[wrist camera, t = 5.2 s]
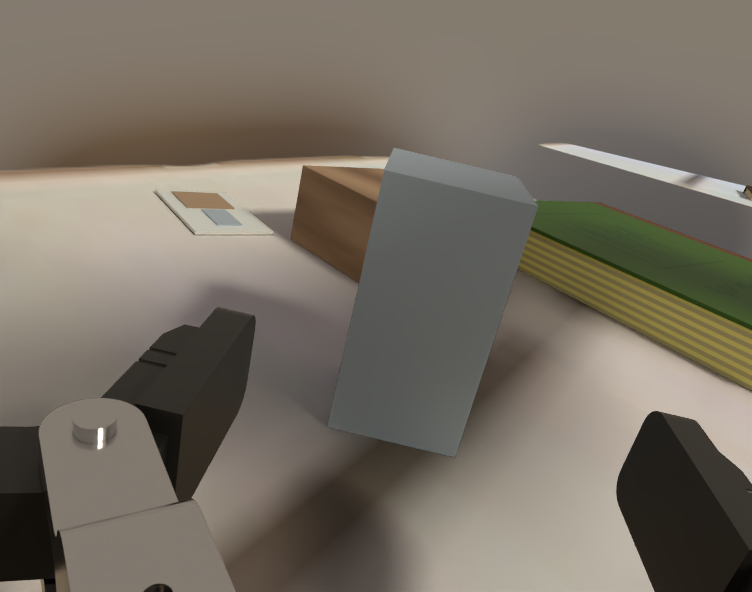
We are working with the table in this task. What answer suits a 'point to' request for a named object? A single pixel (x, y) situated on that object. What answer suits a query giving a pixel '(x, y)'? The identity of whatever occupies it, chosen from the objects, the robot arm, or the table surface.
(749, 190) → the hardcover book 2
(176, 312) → the table surface
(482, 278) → the top brick
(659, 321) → the hardcover book
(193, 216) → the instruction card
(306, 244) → the base brick
